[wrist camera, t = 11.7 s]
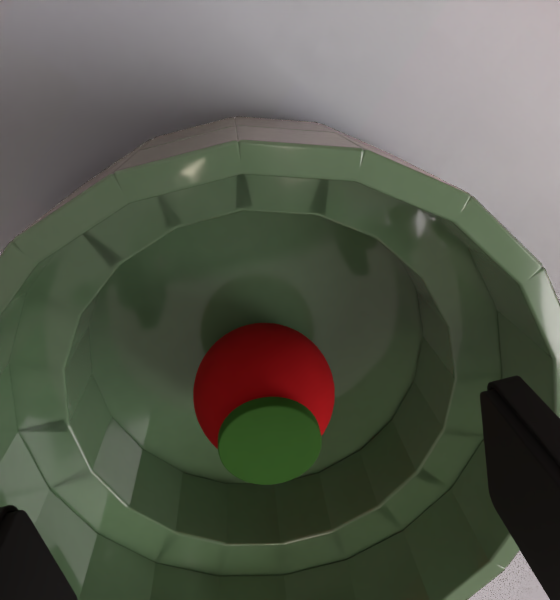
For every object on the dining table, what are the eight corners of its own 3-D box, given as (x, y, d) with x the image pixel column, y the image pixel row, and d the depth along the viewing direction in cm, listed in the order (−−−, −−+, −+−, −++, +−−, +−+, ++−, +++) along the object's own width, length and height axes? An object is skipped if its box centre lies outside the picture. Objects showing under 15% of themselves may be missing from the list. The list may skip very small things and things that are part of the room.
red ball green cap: (216, 415, 18) (215, 519, 14) (179, 316, 16) (166, 406, 12) (332, 387, 18) (361, 484, 14) (308, 284, 16) (334, 364, 12)
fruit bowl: (125, 548, 20) (87, 723, 15) (-53, 189, 15) (-221, 258, 9) (486, 458, 20) (582, 601, 15) (446, 58, 15) (577, 50, 9)
